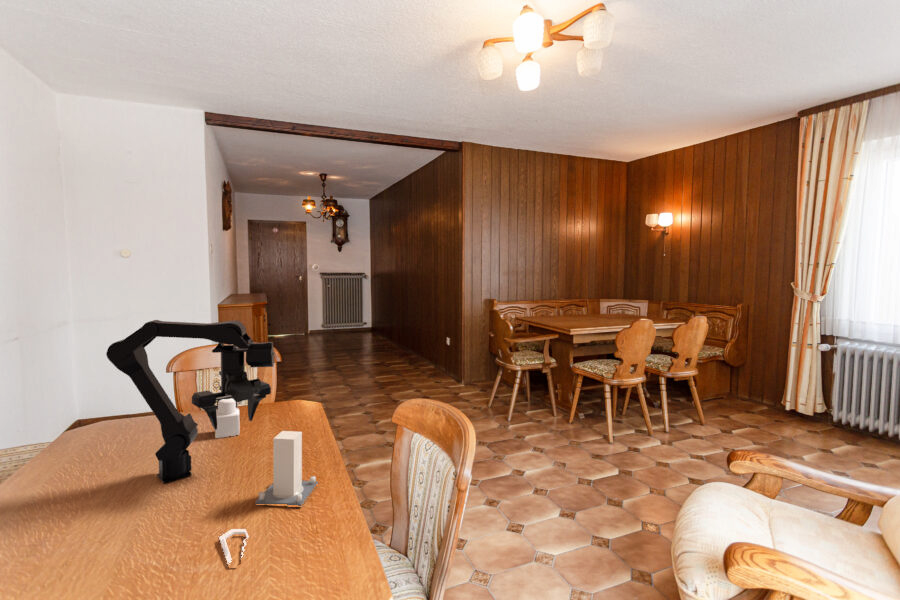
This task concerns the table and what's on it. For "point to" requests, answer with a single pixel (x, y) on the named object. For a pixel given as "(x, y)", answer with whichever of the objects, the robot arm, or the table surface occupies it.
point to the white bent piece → (224, 544)
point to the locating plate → (297, 499)
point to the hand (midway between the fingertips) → (233, 424)
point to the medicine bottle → (227, 418)
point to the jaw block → (287, 463)
